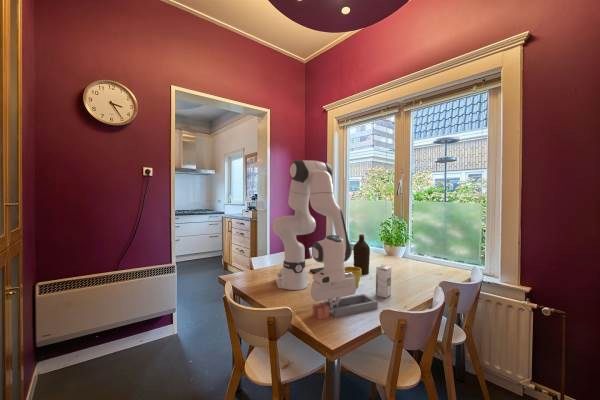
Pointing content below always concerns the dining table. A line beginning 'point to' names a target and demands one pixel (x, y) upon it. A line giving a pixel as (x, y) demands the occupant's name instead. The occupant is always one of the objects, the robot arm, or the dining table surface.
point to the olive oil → (361, 255)
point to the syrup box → (383, 281)
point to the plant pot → (355, 271)
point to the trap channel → (348, 309)
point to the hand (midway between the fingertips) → (334, 307)
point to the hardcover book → (316, 270)
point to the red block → (321, 310)
